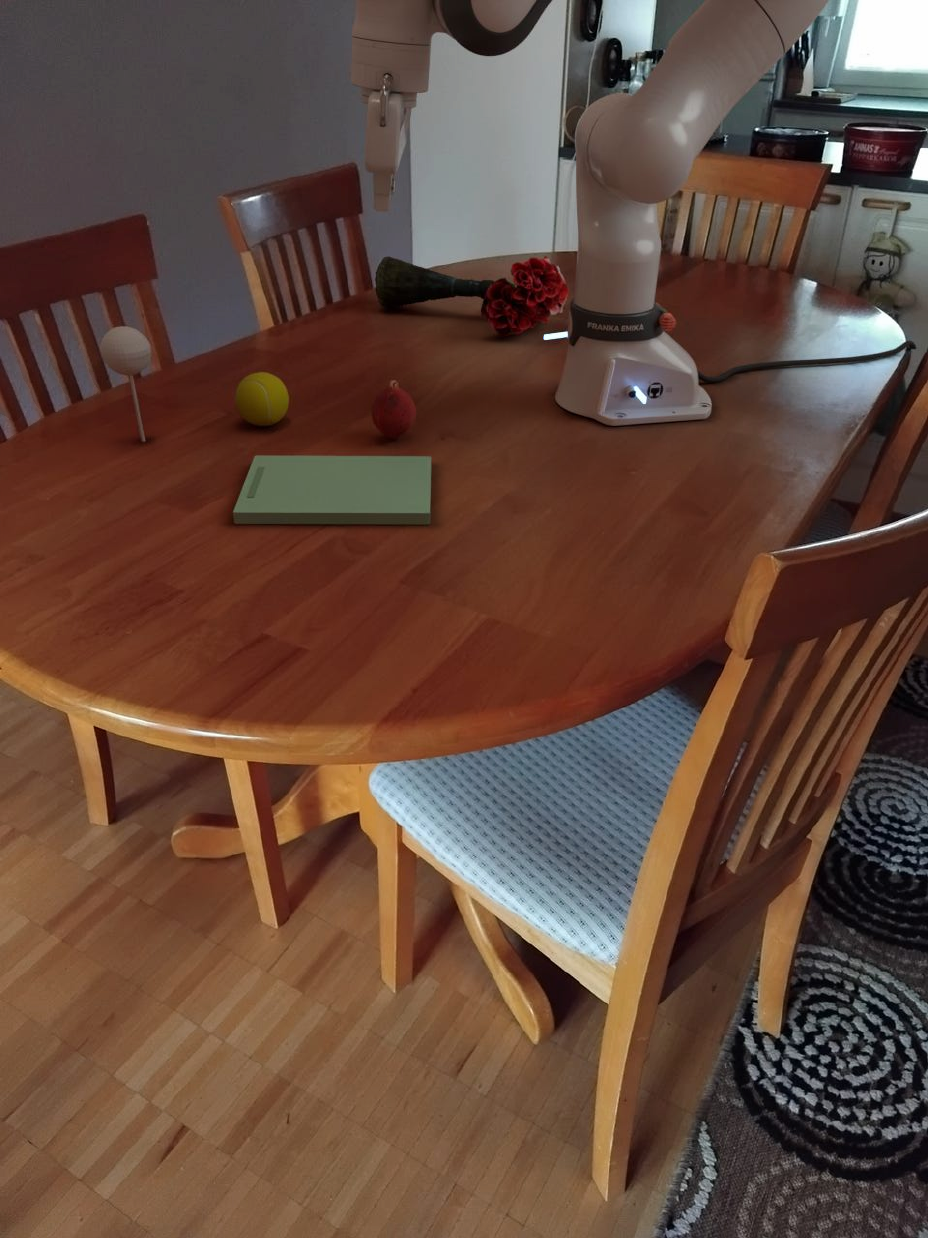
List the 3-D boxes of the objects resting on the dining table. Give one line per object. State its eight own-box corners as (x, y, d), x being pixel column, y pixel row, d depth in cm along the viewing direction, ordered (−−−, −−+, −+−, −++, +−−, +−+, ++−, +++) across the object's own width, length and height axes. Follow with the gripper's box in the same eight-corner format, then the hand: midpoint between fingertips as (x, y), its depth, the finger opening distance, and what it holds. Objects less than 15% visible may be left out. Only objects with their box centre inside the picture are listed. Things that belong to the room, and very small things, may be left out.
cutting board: (431, 467, 118) (431, 455, 117) (430, 524, 106) (429, 512, 105) (256, 466, 118) (254, 454, 117) (234, 524, 105) (232, 511, 104)
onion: (410, 450, 122) (408, 391, 118) (367, 445, 123) (364, 387, 119) (420, 432, 127) (419, 375, 122) (379, 428, 128) (377, 371, 123)
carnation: (387, 350, 177) (566, 365, 166) (347, 305, 160) (544, 318, 149) (404, 272, 179) (583, 281, 168) (366, 219, 161) (563, 225, 150)
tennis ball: (274, 437, 125) (269, 386, 121) (229, 429, 127) (222, 379, 123) (299, 418, 130) (295, 369, 126) (255, 410, 132) (250, 362, 128)
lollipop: (176, 435, 125) (157, 323, 116) (150, 453, 120) (128, 337, 112) (136, 429, 127) (114, 317, 118) (109, 446, 122) (84, 331, 113)
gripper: (414, 82, 97) (406, 223, 105) (421, 65, 114) (413, 188, 122) (353, 75, 97) (350, 217, 105) (369, 60, 114) (365, 183, 121)
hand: (384, 201), depth 113 cm, fingers open, 8 cm apart
